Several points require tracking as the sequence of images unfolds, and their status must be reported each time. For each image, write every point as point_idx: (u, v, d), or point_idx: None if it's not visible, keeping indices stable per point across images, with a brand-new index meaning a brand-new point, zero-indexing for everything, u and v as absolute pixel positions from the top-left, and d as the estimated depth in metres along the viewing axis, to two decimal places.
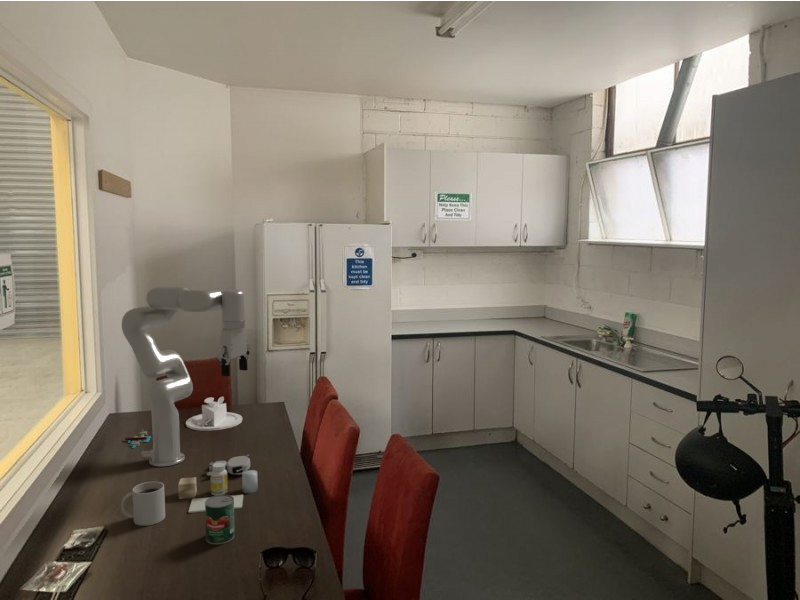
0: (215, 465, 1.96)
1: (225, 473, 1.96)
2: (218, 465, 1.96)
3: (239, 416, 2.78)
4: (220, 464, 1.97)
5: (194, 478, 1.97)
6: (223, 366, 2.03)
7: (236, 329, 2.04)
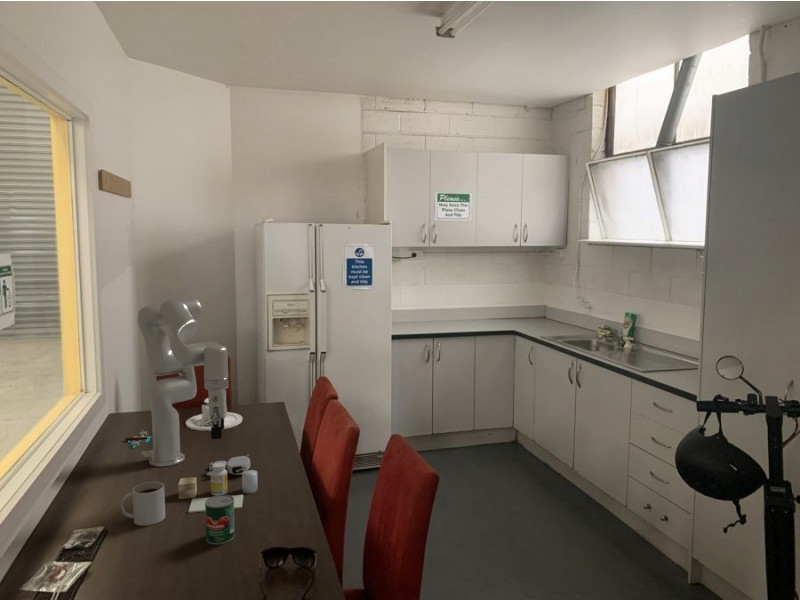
0: (215, 465, 1.96)
1: (225, 473, 1.96)
2: (218, 465, 1.96)
3: (239, 416, 2.78)
4: (220, 464, 1.97)
5: (194, 478, 1.97)
6: None
7: None
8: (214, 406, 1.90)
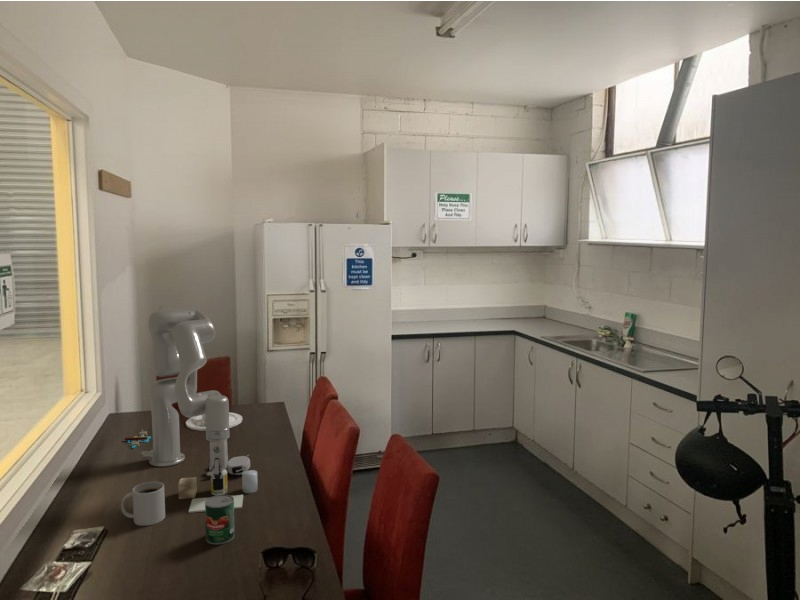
0: None
1: (225, 473, 1.96)
2: None
3: (239, 416, 2.78)
4: None
5: (194, 478, 1.97)
6: None
7: None
8: (215, 457, 1.91)
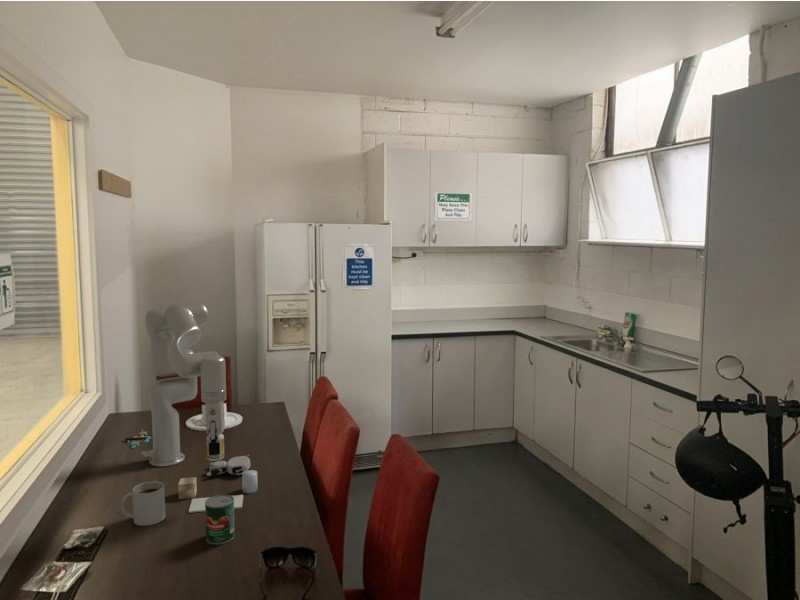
0: None
1: (222, 437, 1.86)
2: None
3: (239, 416, 2.78)
4: None
5: (194, 478, 1.97)
6: None
7: None
8: (211, 420, 1.81)
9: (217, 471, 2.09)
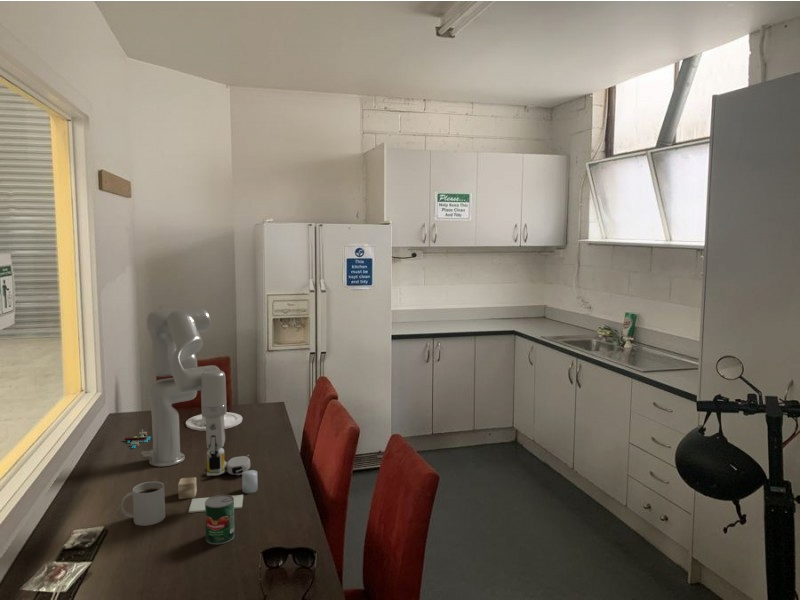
0: None
1: (222, 452, 1.86)
2: None
3: (239, 416, 2.78)
4: None
5: (194, 478, 1.97)
6: None
7: None
8: (211, 434, 1.81)
9: None
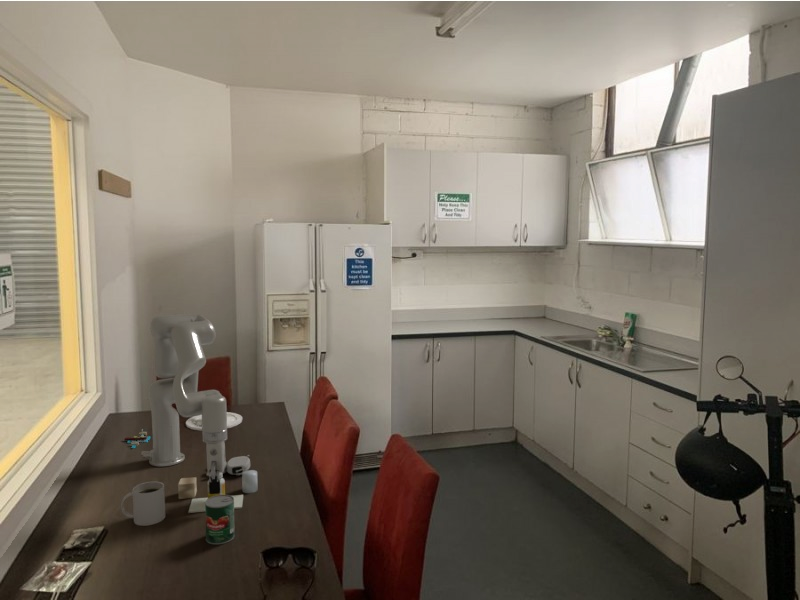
0: None
1: (223, 482, 1.88)
2: None
3: (239, 416, 2.78)
4: None
5: (194, 478, 1.97)
6: None
7: None
8: (212, 460, 1.82)
9: None
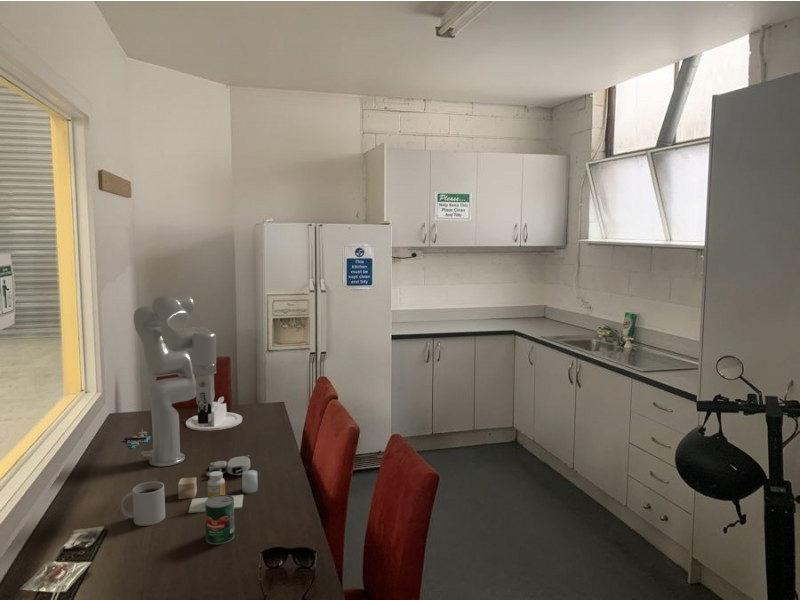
0: (212, 474, 1.87)
1: (223, 482, 1.88)
2: (215, 474, 1.88)
3: (239, 416, 2.78)
4: (217, 473, 1.89)
5: (194, 478, 1.97)
6: None
7: None
8: (201, 391, 1.91)
9: None
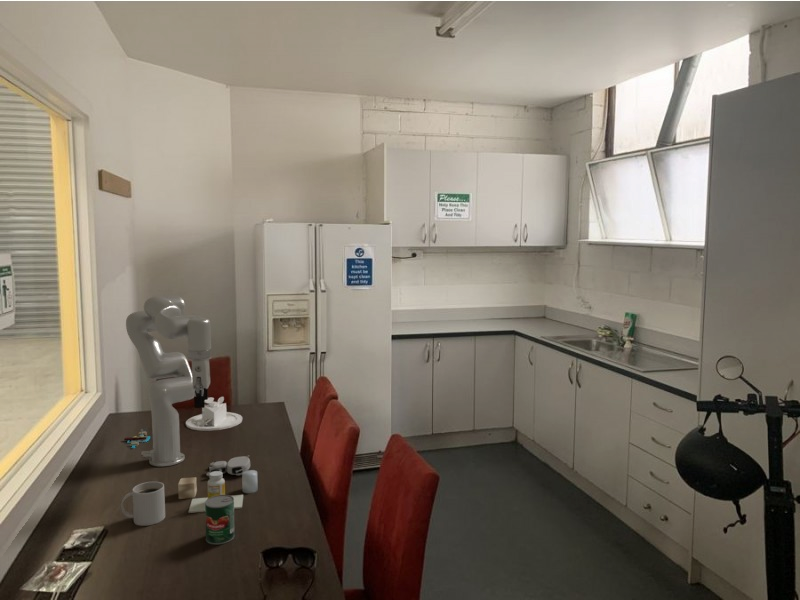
0: (212, 474, 1.87)
1: (223, 482, 1.88)
2: (215, 474, 1.88)
3: (239, 416, 2.78)
4: (217, 473, 1.89)
5: (194, 478, 1.97)
6: None
7: None
8: (197, 376, 1.96)
9: None
